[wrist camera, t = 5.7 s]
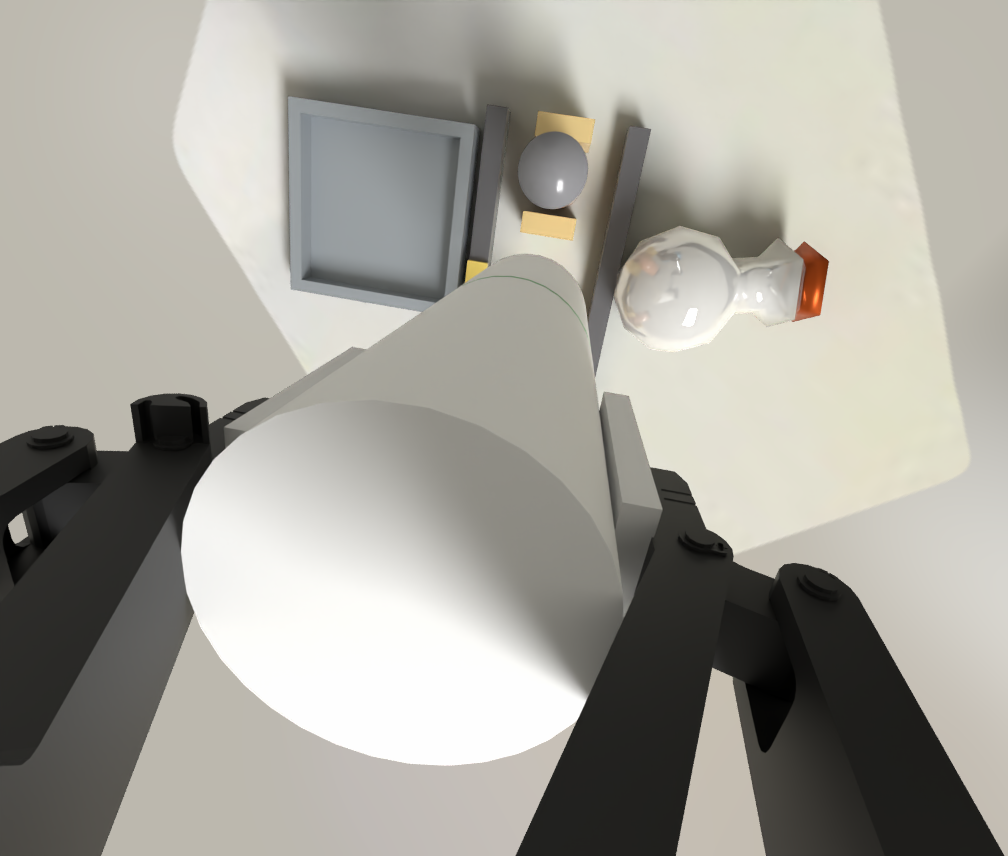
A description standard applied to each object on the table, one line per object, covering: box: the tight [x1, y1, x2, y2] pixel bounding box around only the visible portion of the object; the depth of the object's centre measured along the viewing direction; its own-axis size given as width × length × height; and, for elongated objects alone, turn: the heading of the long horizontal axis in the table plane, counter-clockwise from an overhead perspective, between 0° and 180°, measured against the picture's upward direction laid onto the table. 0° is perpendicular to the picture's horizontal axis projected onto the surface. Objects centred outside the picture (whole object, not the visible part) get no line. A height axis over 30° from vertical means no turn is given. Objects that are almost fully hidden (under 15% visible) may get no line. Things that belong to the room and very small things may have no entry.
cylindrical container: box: [181, 254, 623, 766], centre depth 20 cm, size 7×7×25 cm
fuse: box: [518, 131, 588, 209], centre depth 37 cm, size 4×4×13 cm
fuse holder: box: [465, 105, 651, 376], centre depth 44 cm, size 26×13×6 cm, turn 172°
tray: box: [288, 96, 480, 312], centre depth 45 cm, size 15×15×2 cm
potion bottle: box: [614, 226, 829, 353], centre depth 41 cm, size 9×10×15 cm
